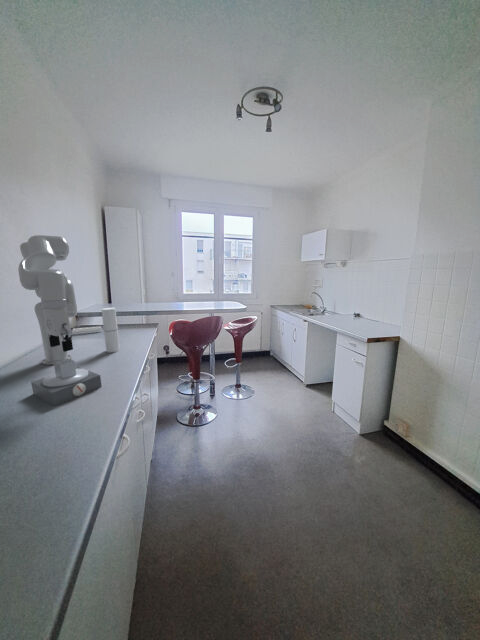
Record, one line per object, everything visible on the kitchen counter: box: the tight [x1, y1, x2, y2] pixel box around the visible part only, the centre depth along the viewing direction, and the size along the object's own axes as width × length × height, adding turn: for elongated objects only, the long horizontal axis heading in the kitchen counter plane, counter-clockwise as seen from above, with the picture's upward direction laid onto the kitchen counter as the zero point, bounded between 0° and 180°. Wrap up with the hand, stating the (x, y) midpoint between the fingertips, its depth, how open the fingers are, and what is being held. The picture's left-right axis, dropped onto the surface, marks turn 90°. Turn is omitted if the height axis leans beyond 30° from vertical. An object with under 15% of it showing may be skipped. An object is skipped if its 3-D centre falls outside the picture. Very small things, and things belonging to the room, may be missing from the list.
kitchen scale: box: [30, 366, 102, 407], centre depth 99 cm, size 18×17×6 cm
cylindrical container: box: [101, 307, 121, 353], centre depth 146 cm, size 7×7×25 cm
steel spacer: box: [53, 358, 76, 380], centre depth 98 cm, size 5×5×6 cm
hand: (61, 348), depth 97 cm, fingers open, 9 cm apart
